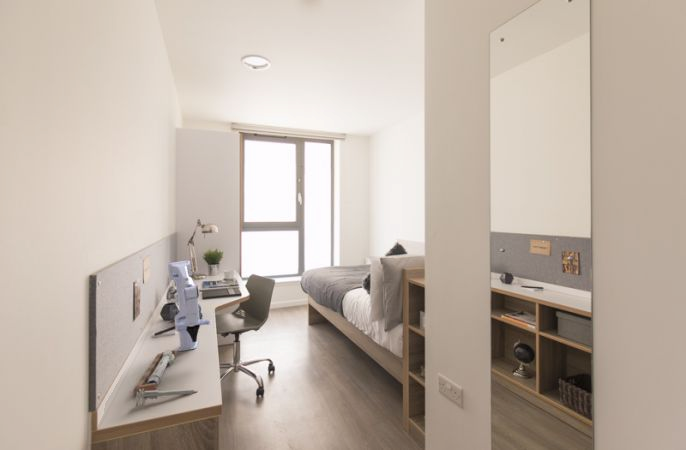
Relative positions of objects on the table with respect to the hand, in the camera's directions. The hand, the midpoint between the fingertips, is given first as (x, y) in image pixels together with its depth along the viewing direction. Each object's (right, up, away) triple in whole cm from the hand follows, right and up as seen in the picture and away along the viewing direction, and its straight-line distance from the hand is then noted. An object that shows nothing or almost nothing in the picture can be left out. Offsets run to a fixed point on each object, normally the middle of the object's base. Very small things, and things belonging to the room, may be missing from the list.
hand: (194, 341), depth 155 cm
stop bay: (-12, -11, -10) cm, 19 cm away
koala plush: (-29, -7, +60) cm, 67 cm away
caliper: (+3, -12, -29) cm, 32 cm away
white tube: (-10, -11, -10) cm, 18 cm away
